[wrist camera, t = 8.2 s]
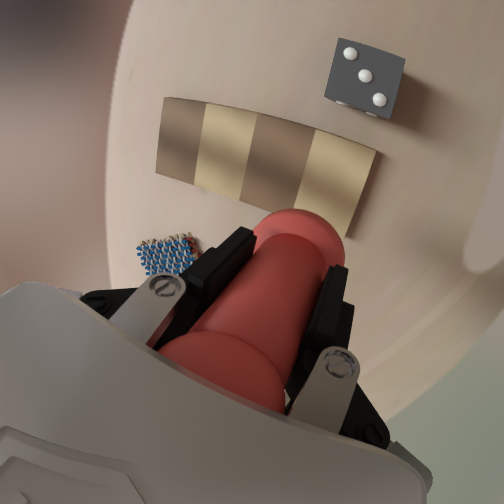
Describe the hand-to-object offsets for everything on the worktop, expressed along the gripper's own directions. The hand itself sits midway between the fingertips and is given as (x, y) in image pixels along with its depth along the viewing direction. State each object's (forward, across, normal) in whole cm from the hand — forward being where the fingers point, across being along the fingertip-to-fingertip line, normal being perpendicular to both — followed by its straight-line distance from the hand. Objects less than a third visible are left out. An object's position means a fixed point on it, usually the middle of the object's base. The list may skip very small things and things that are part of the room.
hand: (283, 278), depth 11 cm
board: (+17, +8, 0) cm, 18 cm away
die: (+17, 0, -10) cm, 20 cm away
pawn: (+2, 0, 0) cm, 2 cm away
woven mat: (+17, +16, +18) cm, 29 cm away
